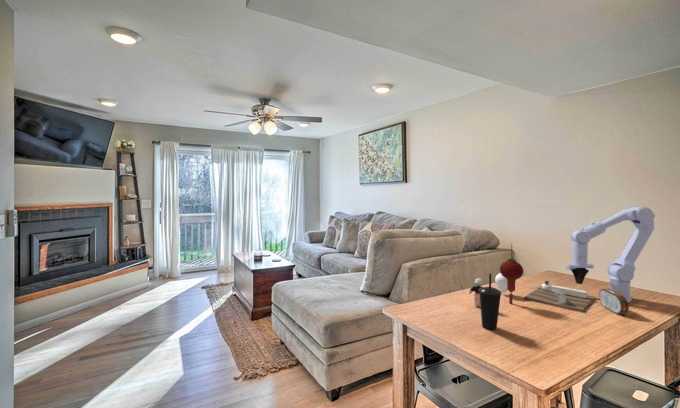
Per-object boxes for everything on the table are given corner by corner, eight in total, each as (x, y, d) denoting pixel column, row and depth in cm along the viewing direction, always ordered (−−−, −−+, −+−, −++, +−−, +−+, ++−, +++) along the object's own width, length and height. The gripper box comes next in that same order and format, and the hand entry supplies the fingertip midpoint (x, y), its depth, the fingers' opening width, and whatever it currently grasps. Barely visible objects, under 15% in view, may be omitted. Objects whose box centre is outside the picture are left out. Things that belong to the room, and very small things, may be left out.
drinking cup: (500, 333, 109) (500, 277, 109) (476, 328, 113) (477, 274, 113) (502, 326, 116) (502, 272, 115) (479, 321, 120) (480, 270, 119)
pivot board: (540, 288, 163) (540, 277, 163) (594, 298, 147) (594, 286, 147) (524, 299, 146) (524, 287, 146) (582, 312, 130) (583, 298, 129)
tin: (629, 317, 124) (630, 296, 124) (620, 317, 125) (620, 296, 124) (605, 304, 139) (605, 286, 138) (597, 304, 139) (597, 285, 139)
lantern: (514, 300, 145) (516, 235, 144) (527, 307, 135) (529, 238, 134) (494, 300, 144) (495, 235, 144) (506, 307, 135) (507, 238, 134)
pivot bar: (540, 289, 156) (540, 284, 156) (543, 288, 159) (543, 283, 159) (585, 298, 143) (585, 293, 143) (587, 296, 146) (587, 291, 146)
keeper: (551, 296, 146) (551, 288, 146) (557, 297, 145) (557, 288, 145) (559, 304, 136) (559, 294, 136) (565, 304, 136) (565, 295, 136)
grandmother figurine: (487, 306, 136) (487, 277, 136) (488, 309, 133) (489, 280, 132) (468, 304, 139) (468, 276, 138) (469, 307, 135) (469, 278, 135)
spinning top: (496, 291, 158) (496, 267, 157) (513, 294, 153) (514, 270, 153) (493, 295, 152) (494, 270, 151) (511, 298, 147) (511, 273, 147)
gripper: (584, 253, 156) (583, 280, 157) (560, 254, 153) (559, 282, 154) (598, 256, 149) (597, 284, 150) (573, 257, 146) (572, 286, 147)
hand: (579, 283), depth 151 cm, fingers closed
